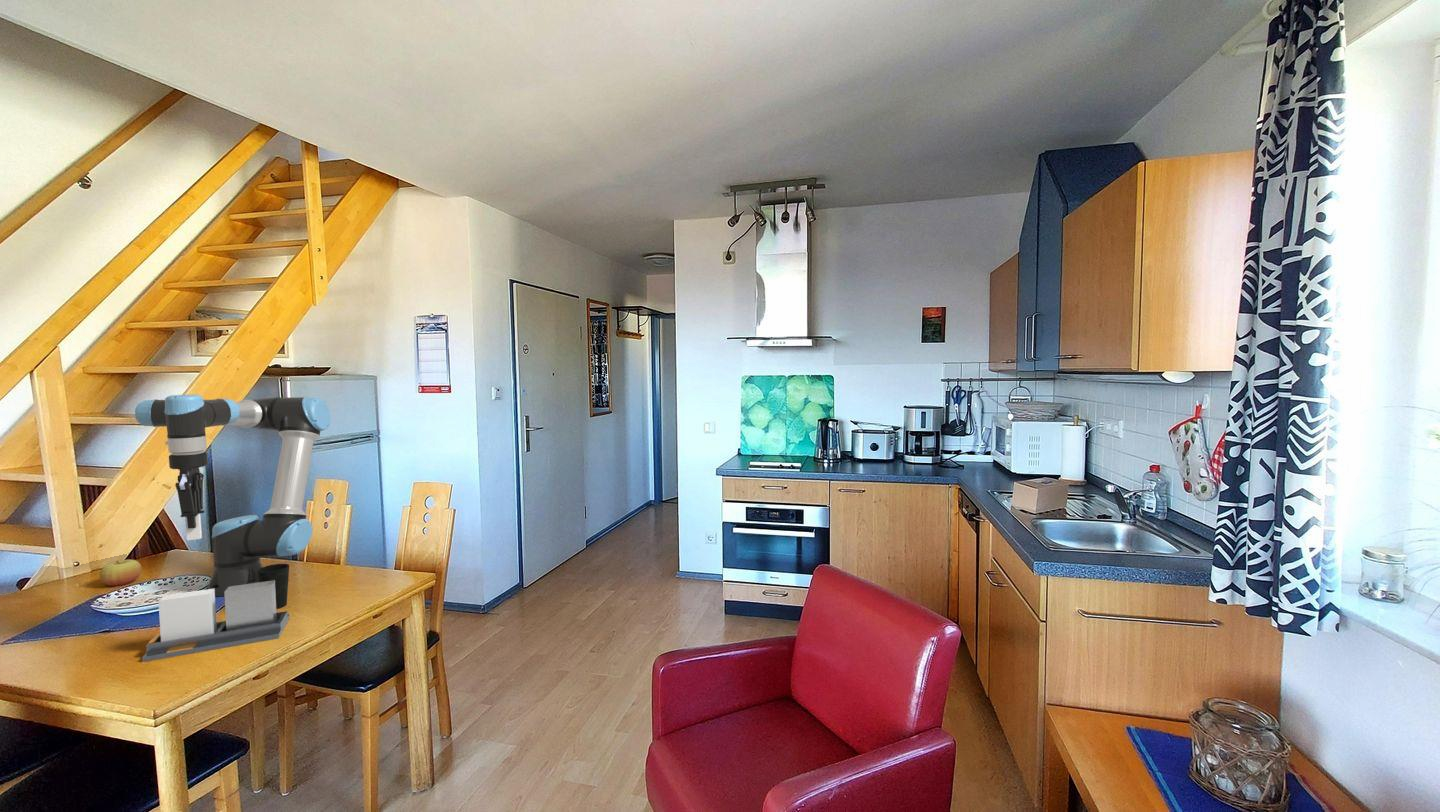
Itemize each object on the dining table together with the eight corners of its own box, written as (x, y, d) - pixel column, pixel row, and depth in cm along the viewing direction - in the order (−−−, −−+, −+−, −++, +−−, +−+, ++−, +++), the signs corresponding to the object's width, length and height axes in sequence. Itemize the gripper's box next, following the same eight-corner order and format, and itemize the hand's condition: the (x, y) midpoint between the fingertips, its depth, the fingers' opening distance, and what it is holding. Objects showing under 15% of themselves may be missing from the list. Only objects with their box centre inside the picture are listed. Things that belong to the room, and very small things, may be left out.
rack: (165, 638, 152) (162, 590, 152) (289, 617, 165) (287, 573, 164) (142, 661, 140) (139, 609, 139) (278, 638, 153) (276, 590, 152)
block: (167, 639, 149) (164, 595, 148) (216, 631, 154) (214, 588, 153) (161, 646, 145) (158, 600, 145) (212, 638, 150) (209, 593, 149)
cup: (273, 612, 168) (271, 573, 168) (252, 610, 170) (250, 571, 169) (297, 602, 176) (295, 564, 175) (277, 600, 178) (275, 562, 177)
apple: (97, 584, 190) (95, 561, 190) (138, 576, 198) (137, 553, 198) (103, 591, 185) (101, 567, 184) (145, 582, 193) (144, 559, 192)
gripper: (178, 450, 156) (184, 534, 158) (159, 457, 144) (166, 548, 146) (213, 448, 159) (219, 530, 161) (198, 455, 148) (204, 543, 150)
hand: (194, 538), depth 154 cm, fingers closed
